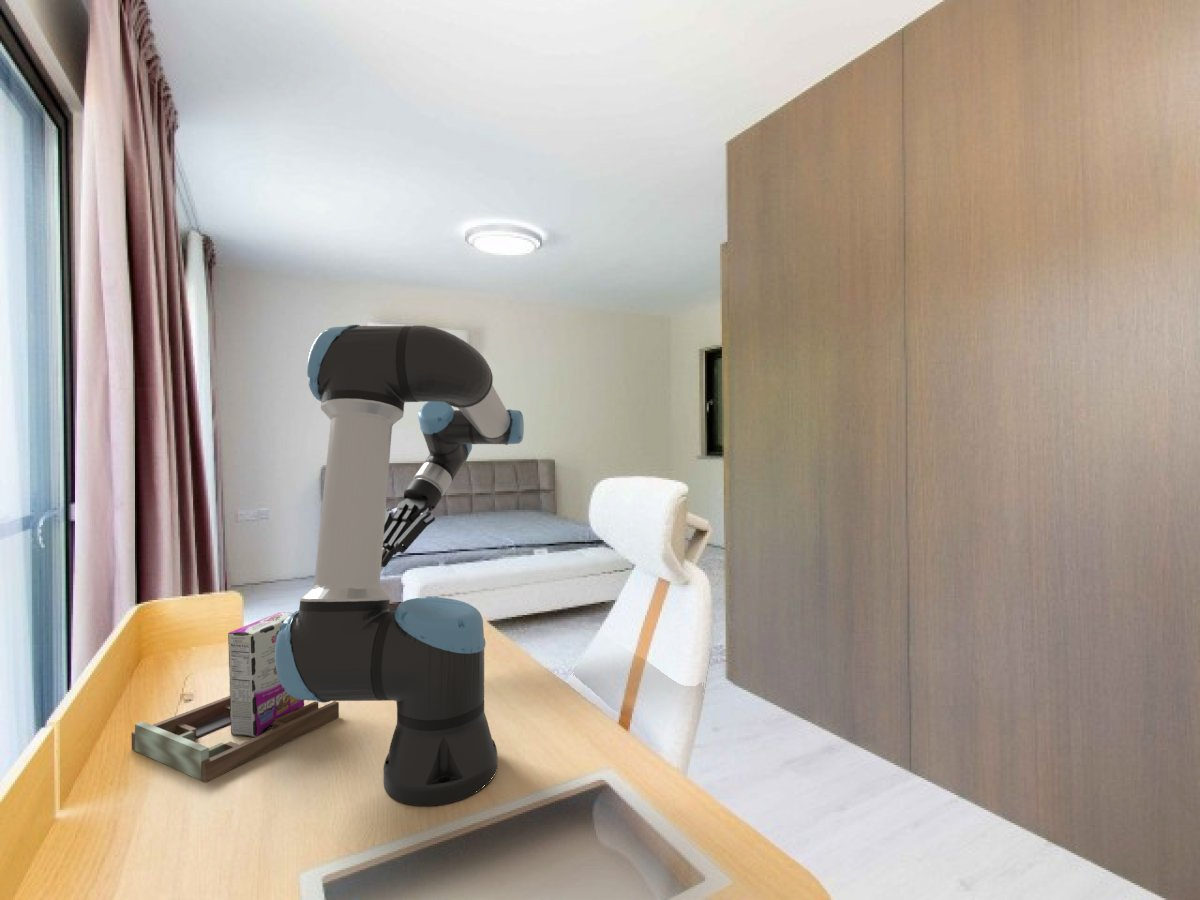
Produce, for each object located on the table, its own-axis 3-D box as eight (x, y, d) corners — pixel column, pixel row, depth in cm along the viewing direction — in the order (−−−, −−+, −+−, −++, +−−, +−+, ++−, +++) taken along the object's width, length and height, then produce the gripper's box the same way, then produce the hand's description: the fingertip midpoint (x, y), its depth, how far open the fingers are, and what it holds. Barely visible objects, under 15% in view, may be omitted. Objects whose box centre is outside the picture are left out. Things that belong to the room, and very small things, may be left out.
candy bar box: (280, 704, 102) (279, 611, 102) (305, 707, 101) (304, 612, 101) (227, 735, 91) (226, 631, 91) (254, 738, 90) (253, 633, 90)
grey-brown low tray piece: (338, 717, 97) (338, 693, 97) (205, 782, 78) (205, 752, 78) (267, 695, 105) (267, 673, 105) (131, 749, 87) (131, 722, 87)
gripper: (458, 500, 129) (401, 592, 114) (414, 497, 135) (355, 585, 120) (441, 477, 124) (379, 571, 109) (396, 476, 130) (332, 564, 115)
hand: (367, 578), depth 115 cm, fingers closed
